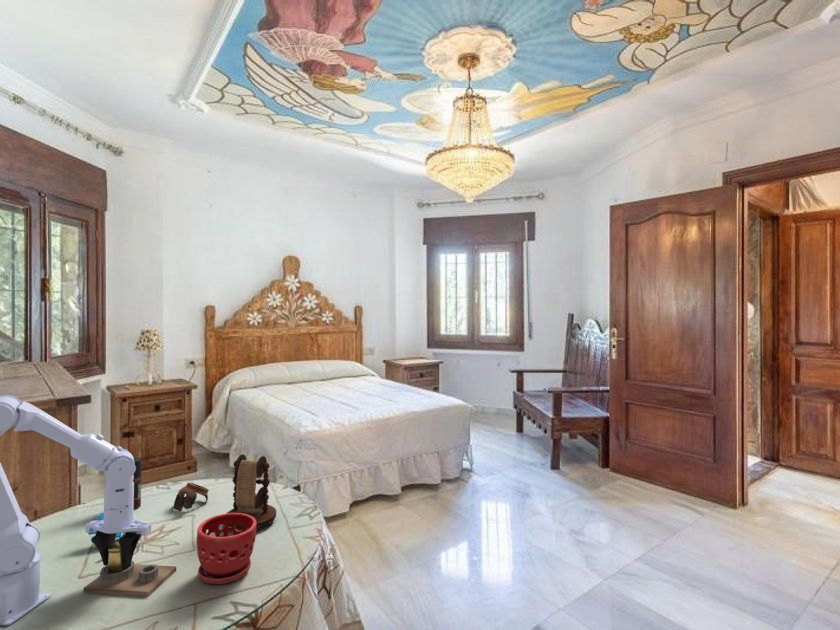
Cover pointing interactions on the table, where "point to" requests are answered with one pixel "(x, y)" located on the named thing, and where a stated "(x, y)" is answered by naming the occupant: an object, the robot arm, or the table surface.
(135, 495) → the deodorant
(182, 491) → the brown leather bracelet
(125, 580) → the manifold board
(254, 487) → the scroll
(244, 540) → the plant pot
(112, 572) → the brass nipple
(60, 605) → the table surface
